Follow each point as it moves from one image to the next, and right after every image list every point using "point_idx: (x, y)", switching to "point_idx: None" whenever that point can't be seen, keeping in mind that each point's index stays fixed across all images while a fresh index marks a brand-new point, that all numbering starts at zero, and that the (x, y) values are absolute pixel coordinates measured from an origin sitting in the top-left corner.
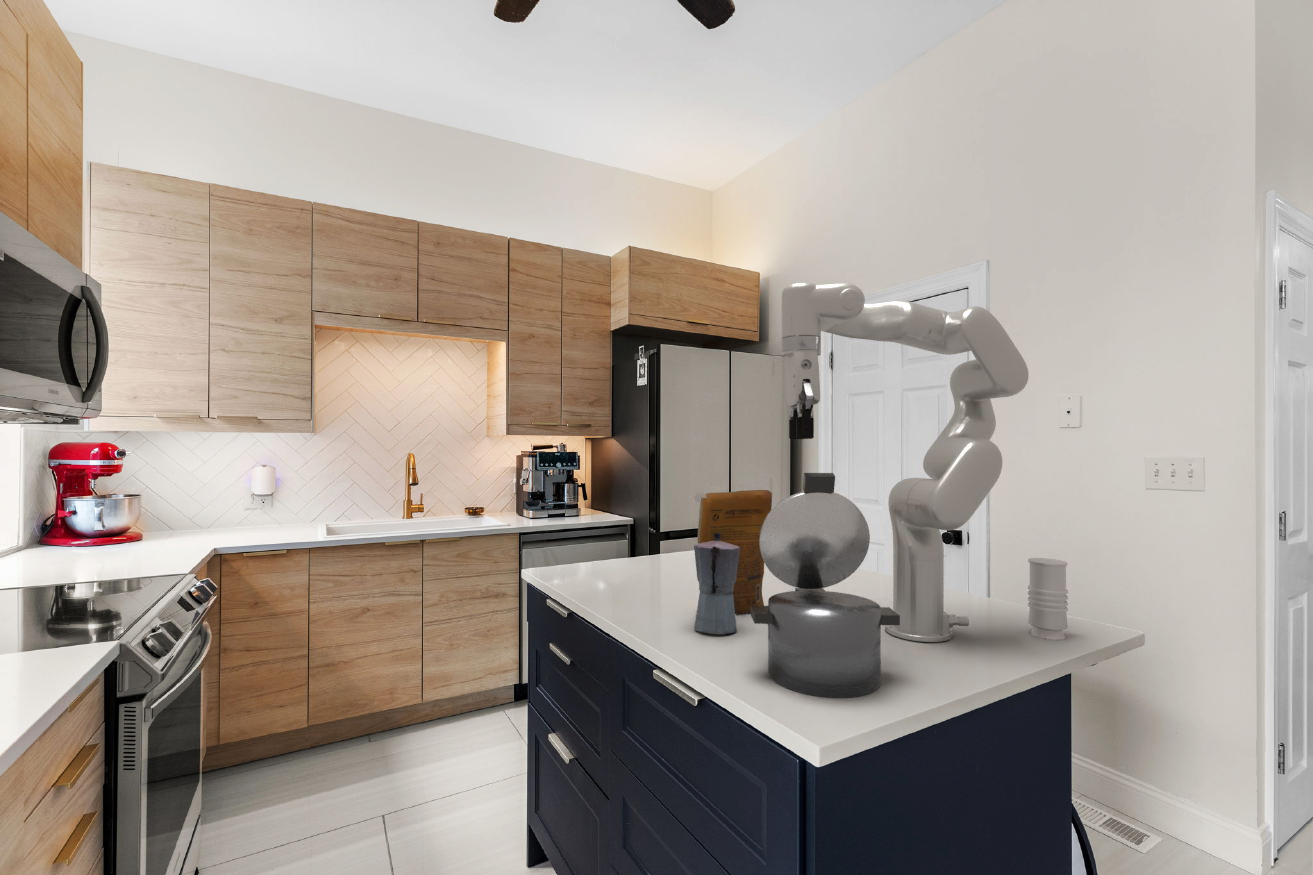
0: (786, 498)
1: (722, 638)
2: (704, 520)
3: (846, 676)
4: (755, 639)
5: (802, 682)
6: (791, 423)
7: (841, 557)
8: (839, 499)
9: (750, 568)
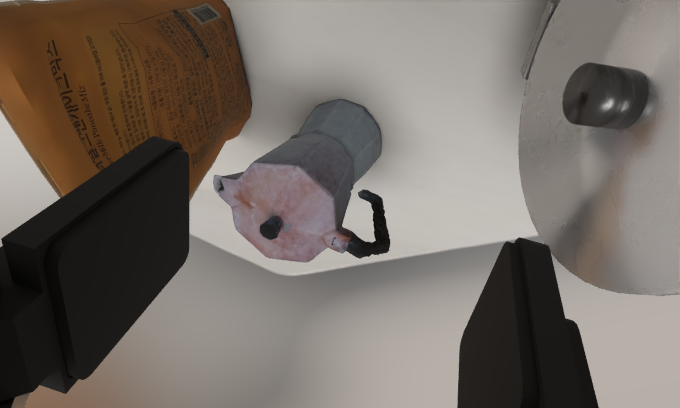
0: (678, 289)
1: (391, 142)
2: None
3: None
4: (409, 85)
5: None
6: (104, 345)
7: None
8: None
9: (191, 55)
